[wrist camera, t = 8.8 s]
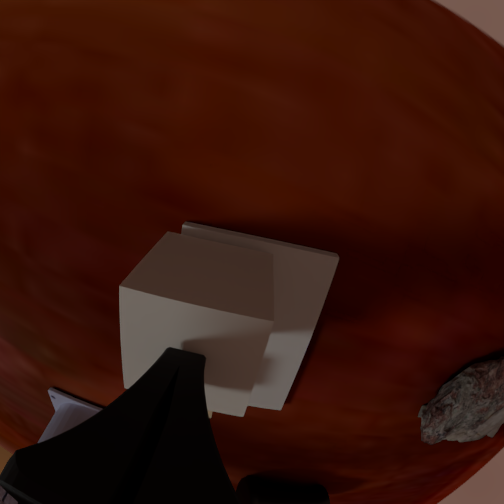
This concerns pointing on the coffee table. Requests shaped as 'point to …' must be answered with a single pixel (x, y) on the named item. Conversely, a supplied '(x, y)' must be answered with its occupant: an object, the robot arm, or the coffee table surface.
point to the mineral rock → (466, 405)
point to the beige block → (200, 314)
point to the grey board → (282, 306)
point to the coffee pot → (278, 493)
